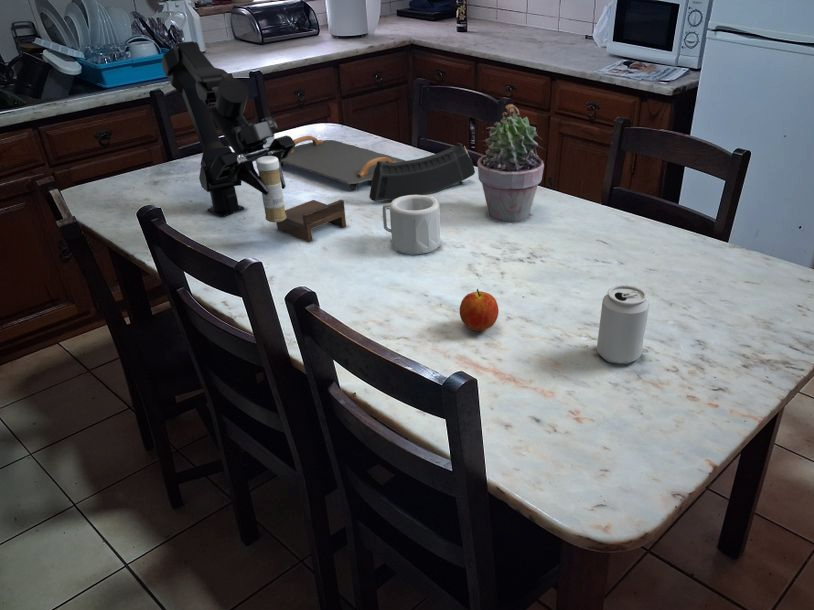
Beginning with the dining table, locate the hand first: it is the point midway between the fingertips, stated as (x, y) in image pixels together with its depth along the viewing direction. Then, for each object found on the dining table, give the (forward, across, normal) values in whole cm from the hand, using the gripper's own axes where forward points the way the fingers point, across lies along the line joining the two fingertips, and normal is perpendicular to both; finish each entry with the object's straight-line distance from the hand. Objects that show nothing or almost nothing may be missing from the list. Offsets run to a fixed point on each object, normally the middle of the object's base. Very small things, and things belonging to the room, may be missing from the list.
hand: (275, 190), depth 149 cm
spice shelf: (+7, +11, +11) cm, 17 cm away
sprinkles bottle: (+4, 0, +6) cm, 7 cm away
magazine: (+11, +45, +8) cm, 47 cm away
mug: (+24, +19, -6) cm, 31 cm away
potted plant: (+30, +46, -11) cm, 56 cm away
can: (+64, +8, -47) cm, 80 cm away
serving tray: (-11, +43, +30) cm, 54 cm away
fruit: (+48, 0, -30) cm, 57 cm away
